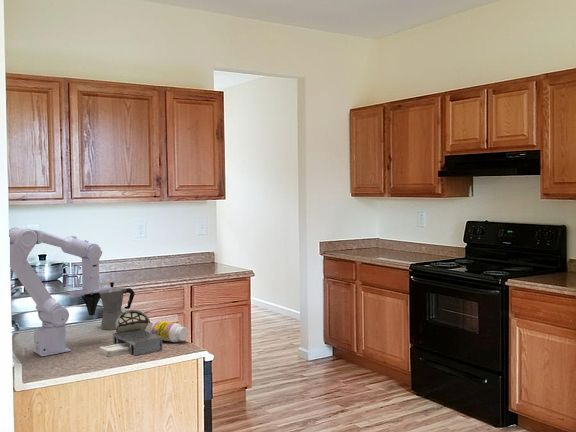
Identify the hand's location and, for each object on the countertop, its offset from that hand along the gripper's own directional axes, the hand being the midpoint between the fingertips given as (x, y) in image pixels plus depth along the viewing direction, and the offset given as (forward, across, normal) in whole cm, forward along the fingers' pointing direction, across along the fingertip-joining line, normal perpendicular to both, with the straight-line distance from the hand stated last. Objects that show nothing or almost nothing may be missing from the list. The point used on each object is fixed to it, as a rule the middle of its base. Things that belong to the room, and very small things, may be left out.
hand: (91, 314), depth 204 cm
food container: (+8, +12, -3) cm, 15 cm away
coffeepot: (+10, +16, +15) cm, 24 cm away
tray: (+10, +2, -18) cm, 20 cm away
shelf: (+10, +8, -17) cm, 22 cm away
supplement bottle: (+7, +19, -11) cm, 23 cm away
